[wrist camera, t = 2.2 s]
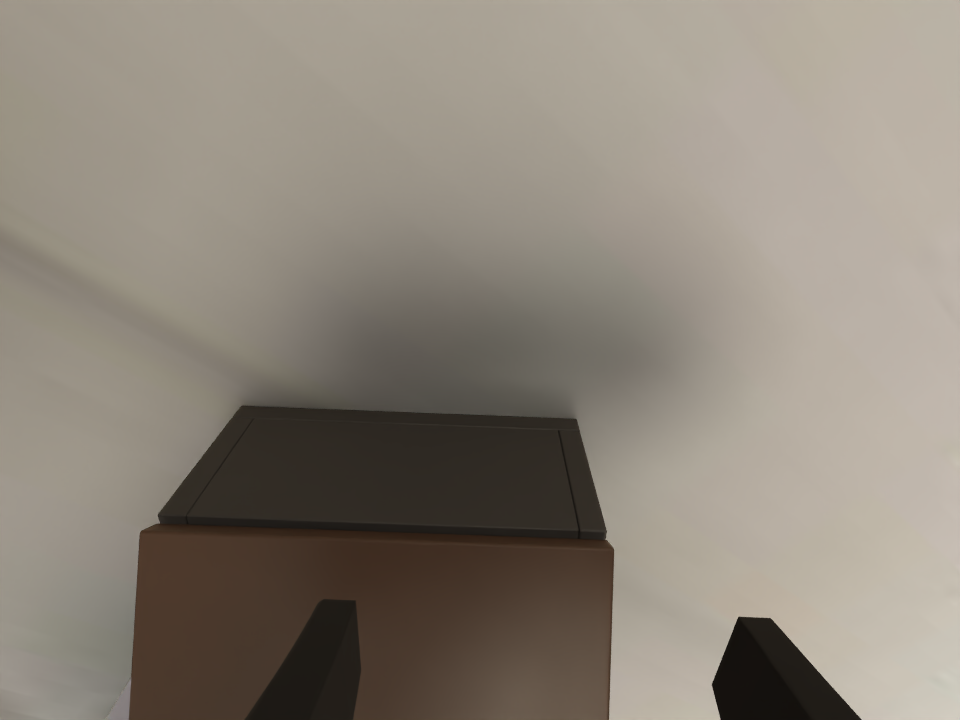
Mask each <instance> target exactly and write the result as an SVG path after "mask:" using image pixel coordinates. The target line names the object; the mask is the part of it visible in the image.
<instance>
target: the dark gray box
mask: <svg viewBox="0 0 960 720" xmlns="http://www.w3.org/2000/svg"><path fill="white" fill-rule="evenodd" d="M158 518H159V521H160V524H182V525H210V526H237V527H264V528H292V529H319V530H346V531H374V532H401V533H428V534H456V535H483V536H510V537H538V538H565V539H592V540H605V538H606V533H607V530H606V527H605V523H604V519H603V516H602V512H601V508H600V505H599V501H598V497H597V494H596V490H595V486H594V483H593V479H592V475H591V472H590V468H589V464H588V460H587V457H586V453H585V449H584V446H583V442H582V438H581V435H580V430H579V426H578V423H577V420H576V419H563V418H537V417H512V416H486V415H460V414H434V413H408V412H382V411H356V410H330V409H304V408H279V407H253V406H241V407H240V408H239V410H238V411H237V412H236V413H235V415H234V416H233V418H232V419H231V420H230V421H229V423H228V424H227V425H226V426H225V428H224V429H223V430H222V432H221V433H220V434H219V436H218V437H217V438H216V439H215V441H214V442H213V443H212V445H211V446H210V447H209V449H208V450H207V451H206V452H205V454H204V455H203V456H202V458H201V459H200V460H199V462H198V463H197V464H196V466H195V467H194V468H193V469H192V471H191V472H190V473H189V475H188V476H187V477H186V479H185V480H184V481H183V482H182V484H181V485H180V486H179V488H178V489H177V490H176V492H175V493H174V494H173V496H172V497H171V498H170V499H169V501H168V502H167V503H166V505H165V506H164V507H163V509H162V510H161V511H160V512H159V514H158Z"/></svg>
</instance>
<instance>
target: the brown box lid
mask: <svg viewBox="0 0 960 720" xmlns="http://www.w3.org/2000/svg"><path fill="white" fill-rule="evenodd" d="M613 570H614V549H613V547H612V546H611V545H610V543H609V542H608V541H606V540H592V539H565V538H538V537H510V536H483V535H456V534H428V533H401V532H374V531H346V530H319V529H292V528H264V527H237V526H210V525H182V524H155V525H153V526H151V527H149V528H146V529H144V530H142V531H141V532H140V539H139V556H138V573H137V590H136V606H135V623H134V640H133V657H132V673H131V690H130V707H129V720H245V718H246V717H247V715H248V714H249V712H250V711H251V709H252V708H253V707H254V705H255V704H256V702H257V701H258V699H259V698H260V696H261V695H262V693H263V692H264V690H265V689H266V687H267V686H268V684H269V683H270V681H271V680H272V678H273V677H274V675H275V674H276V672H277V671H278V669H279V668H280V666H281V664H282V663H283V661H284V660H285V658H286V657H287V655H288V653H289V652H290V650H291V649H292V647H293V645H294V644H295V642H296V640H297V639H298V637H299V635H300V634H301V632H302V630H303V629H304V627H305V625H306V623H307V622H308V620H309V618H310V616H311V615H312V613H313V611H314V609H315V607H316V605H317V604H318V602H320V601H321V600H323V599H335V600H356V608H357V621H358V634H359V646H360V659H361V675H360V681H359V687H358V693H357V699H356V705H355V711H354V717H353V720H609V700H610V668H611V635H612V602H613Z"/></svg>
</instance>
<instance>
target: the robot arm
mask: <svg viewBox="0 0 960 720" xmlns="http://www.w3.org/2000/svg"><path fill="white" fill-rule="evenodd" d="M360 675H361V659H360V646H359V634H358V621H357V608H356V600H335V599H323V600H321V601H320V602H318V604H317V605H316V607H315V609H314V611H313V613H312V615H311V616H310V618H309V620H308V622H307V623H306V625H305V627H304V629H303V630H302V632H301V634H300V635H299V637H298V639H297V640H296V642H295V644H294V645H293V647H292V649H291V650H290V652H289V653H288V655H287V657H286V658H285V660H284V661H283V663H282V664H281V666H280V668H279V669H278V671H277V672H276V674H275V675H274V677H273V678H272V680H271V681H270V683H269V684H268V686H267V687H266V689H265V690H264V692H263V693H262V695H261V696H260V698H259V699H258V701H257V702H256V704H255V705H254V707H253V708H252V709H251V711H250V712H249V714H248V715H247V717H246V718H245V720H353V717H354V711H355V705H356V699H357V693H358V687H359V681H360ZM712 687H713V691H714V695H715V699H716V703H717V707H718V710H719V714H720V718H721V720H861V718H860V717H859V716H858V715H857V714H856V713H855V712H854V711H853V710H852V709H851V708H850V706H849V705H848V704H847V703H846V702H845V701H844V700H843V699H842V698H841V697H840V695H839V694H838V693H837V692H836V691H835V690H834V689H833V688H832V686H831V685H830V684H829V683H828V682H827V681H826V680H825V679H824V678H823V676H822V675H821V674H820V673H819V672H818V671H817V670H816V669H815V667H814V666H813V665H812V664H811V663H810V662H809V661H808V660H807V658H806V657H805V656H804V655H803V654H802V653H801V652H800V651H799V649H798V648H797V647H796V646H795V645H794V644H793V643H792V642H791V640H790V639H789V638H788V637H787V636H786V635H785V634H784V633H783V631H782V630H781V629H780V628H779V627H778V626H777V625H776V624H775V623H774V621H773V620H772V619H771V618H753V617H738V619H737V622H736V624H735V627H734V630H733V632H732V635H731V637H730V640H729V642H728V645H727V647H726V650H725V652H724V655H723V658H722V660H721V663H720V665H719V668H718V670H717V673H716V675H715V678H714V681H713V683H712ZM130 690H131V678H130V679H129V681H128V683H127V684H126V686H125V688H124V689H123V691H122V693H121V694H120V696H119V698H118V699H117V701H116V703H115V704H114V706H113V708H112V709H111V711H110V713H109V714H108V716H107V718H106V719H105V720H129V707H130Z"/></svg>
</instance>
